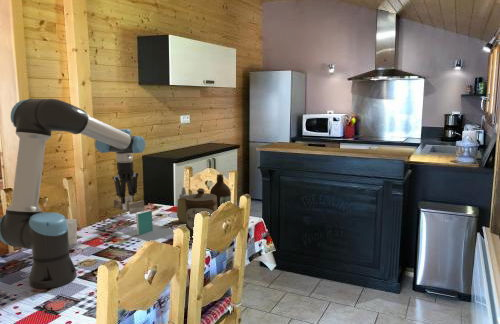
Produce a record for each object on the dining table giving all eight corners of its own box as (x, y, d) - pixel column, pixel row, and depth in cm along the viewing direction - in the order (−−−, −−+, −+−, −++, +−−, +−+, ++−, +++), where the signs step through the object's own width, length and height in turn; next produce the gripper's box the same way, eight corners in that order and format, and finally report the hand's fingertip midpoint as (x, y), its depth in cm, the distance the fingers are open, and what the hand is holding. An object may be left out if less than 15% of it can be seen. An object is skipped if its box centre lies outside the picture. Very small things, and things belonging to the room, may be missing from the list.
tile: (139, 235, 195) (138, 214, 193) (137, 234, 196) (135, 213, 194) (152, 230, 201) (151, 210, 199) (150, 230, 202) (149, 209, 200)
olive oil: (206, 222, 215) (205, 174, 211) (222, 218, 222) (221, 172, 218) (219, 227, 207) (218, 177, 203) (235, 222, 214) (234, 174, 210)
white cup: (55, 244, 185) (53, 222, 184) (70, 239, 192) (68, 218, 191) (67, 247, 182) (65, 224, 180) (82, 241, 189) (80, 220, 187)
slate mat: (150, 242, 186) (149, 241, 186) (122, 234, 198) (122, 233, 197) (179, 232, 200) (179, 231, 200) (152, 225, 212) (152, 224, 212)
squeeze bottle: (175, 220, 219) (173, 186, 217) (190, 218, 223) (189, 185, 220) (179, 224, 212) (178, 189, 209) (194, 222, 215) (193, 188, 213)
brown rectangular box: (109, 208, 207) (108, 199, 206) (123, 205, 213) (122, 195, 212) (130, 214, 197) (130, 203, 196) (144, 210, 203) (143, 200, 202)
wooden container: (183, 239, 189) (181, 192, 186) (189, 229, 204) (188, 185, 201) (216, 239, 189) (215, 192, 185) (220, 229, 203) (218, 185, 200)
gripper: (115, 164, 192) (119, 214, 196) (143, 159, 204) (145, 206, 208) (106, 163, 197) (109, 211, 200) (133, 158, 209) (136, 204, 213)
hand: (127, 209), depth 204 cm, fingers closed on brown rectangular box, 2 cm apart
